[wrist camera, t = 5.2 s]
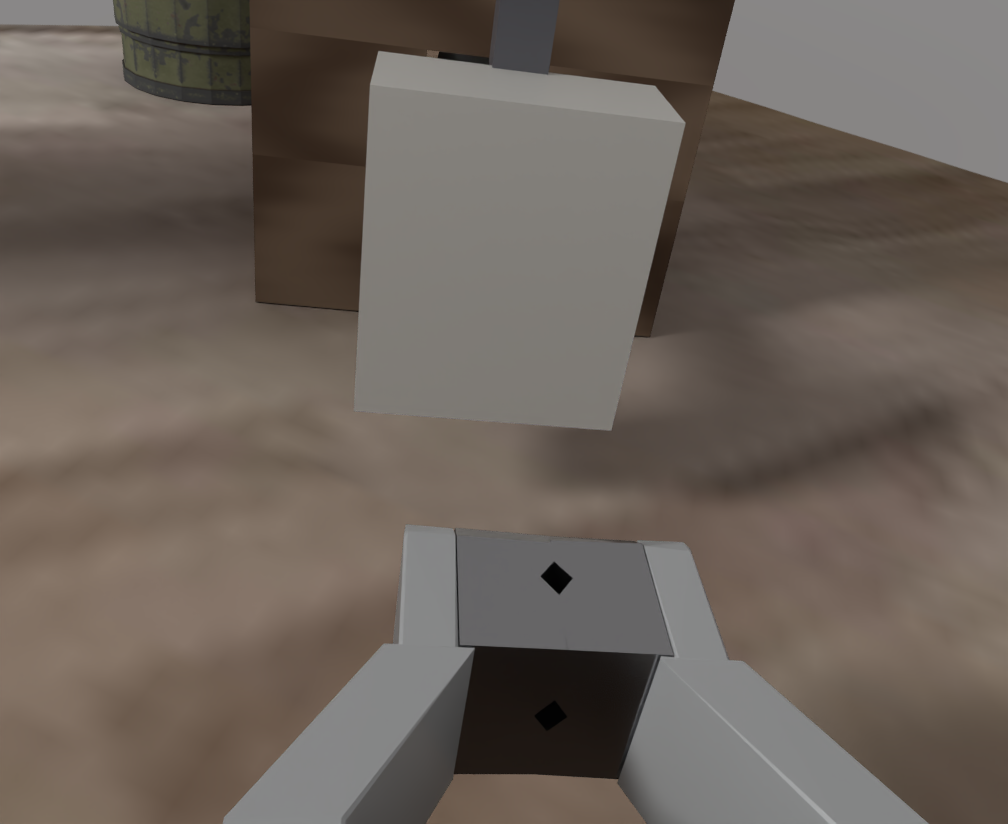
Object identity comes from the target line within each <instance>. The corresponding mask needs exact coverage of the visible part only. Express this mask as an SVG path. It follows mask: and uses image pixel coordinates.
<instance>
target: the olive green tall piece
mask: <svg viewBox="0 0 1008 824" xmlns="http://www.w3.org/2000/svg"><path fill="white" fill-rule="evenodd" d="M113 4H114V15H115V20H116V23H117V24H118V25H119V29H120V32H121V34H122V44H123V55H124V59H123V60H122V62H123V72H124V78H125V81H126V82H128V83H129V84H131V85H132V86H134V87H135V88H137V89H140V90H142V91H145V92H148V93H151V94H154V95H157V96H162V97H166V98H171V99H176V100H181V101H188V102H197V103H206V104H224V105H249V104H252V102H251V53H250V5H249V0H113Z"/></svg>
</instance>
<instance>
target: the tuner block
mask: <svg viewBox="0 0 1008 824" xmlns="http://www.w3.org/2000/svg"><path fill="white" fill-rule="evenodd" d="M734 2H735V0H560V1H559V8H558V14H557V21H556V27H555V34H554V40H553V47H552V53H551V60H550V66H549V73H557V74H565V75H573V76H581V77H589V78H597V79H605V80H613V81H621V82H629V83H637V84H645V85H653V86H656V88H657V89H658V90H659V91H660V93H661V94H662V95H663V96H664V97H665V99H666V100H667V101H668V102H669V103H670V105H671V106H672V107H673V108H674V110H675V111H676V112H677V113H678V114H679V116H680V117H681V118H682V119H683V120H684V122H685V128H684V132H683V136H682V140H681V144H680V148H679V152H678V157H677V161H676V165H675V169H674V173H673V177H672V181H671V186H670V190H669V194H668V198H667V202H666V206H665V210H664V215H663V219H662V223H661V227H660V231H659V235H658V239H657V244H656V248H655V252H654V256H653V260H652V264H651V268H650V273H649V277H648V281H647V285H646V289H645V293H644V297H643V302H642V306H641V310H640V314H639V318H638V322H637V326H636V331H635V335H634V336H645V337H650V334H651V331H652V327H653V323H654V319H655V315H656V311H657V307H658V303H659V299H660V295H661V291H662V287H663V283H664V279H665V275H666V271H667V267H668V263H669V259H670V255H671V251H672V247H673V243H674V239H675V235H676V231H677V228H678V224H679V220H680V216H681V212H682V208H683V204H684V200H685V196H686V192H687V188H688V184H689V180H690V176H691V172H692V168H693V164H694V160H695V156H696V152H697V148H698V144H699V140H700V136H701V132H702V128H703V125H704V121H705V117H706V113H707V109H708V105H709V101H710V97H711V93H712V89H713V85H714V81H715V77H716V73H717V69H718V65H719V61H720V57H721V53H722V49H723V45H724V41H725V37H726V33H727V29H728V25H729V21H730V18H731V14H732V10H733V6H734ZM495 4H496V0H249V5H250V53H251V102H252V150H253V199H254V247H255V295H256V302H265V303H276V304H288V305H299V306H310V307H321V308H332V309H344V310H355V311H359V296H360V275H361V255H362V235H363V215H364V195H365V175H366V154H367V134H368V114H369V94H370V83H371V79H372V75H373V71H374V67H375V63H376V59H377V55H378V51H383V52H391V53H399V54H407V55H415V56H422V57H426V55H427V50H432V51H440V52H448V53H456V54H464V55H472V56H480V57H487V58H489V55H490V47H491V38H492V30H493V21H494V13H495Z"/></svg>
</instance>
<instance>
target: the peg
mask: <svg viewBox="0 0 1008 824" xmlns="http://www.w3.org/2000/svg"><path fill="white" fill-rule="evenodd" d="M559 1H560V0H496V4H495V13H494V21H493V30H492V38H491V47H490V55H489V58H487V57H480V56H472V55H464V54H456V53H448V52H439V55H438V58H430V57H422V56H415V55H407V54H399V53H391V52H383V51H378V55H377V59H376V63H375V67H374V71H373V75H372V79H371V83H370V94H369V114H368V134H367V154H366V175H365V195H364V215H363V235H362V255H361V275H360V296H359V316H358V336H357V356H356V376H355V397H354V411H356V412H369V413H383V414H396V415H409V416H422V417H436V418H449V419H462V420H476V421H489V422H502V423H515V424H529V425H542V426H555V427H568V428H582V429H595V430H608V431H611V430H612V426H613V422H614V418H615V413H616V409H617V405H618V401H619V397H620V393H621V389H622V384H623V380H624V376H625V372H626V368H627V364H628V360H629V355H630V351H631V347H632V343H633V339H634V335H635V331H636V326H637V322H638V318H639V314H640V310H641V306H642V302H643V297H644V293H645V289H646V285H647V281H648V277H649V273H650V268H651V264H652V260H653V256H654V252H655V248H656V244H657V239H658V235H659V231H660V227H661V223H662V219H663V215H664V210H665V206H666V202H667V198H668V194H669V190H670V186H671V181H672V177H673V173H674V169H675V165H676V161H677V157H678V152H679V148H680V144H681V140H682V136H683V132H684V128H685V122H684V120H683V119H682V118H681V117H680V116H679V114H678V113H677V112H676V111H675V110H674V108H673V107H672V106H671V105H670V103H669V102H668V101H667V100H666V99H665V97H664V96H663V95H662V94H661V93H660V91H659V90H658V89H657V88H656V86H653V85H645V84H637V83H629V82H621V81H613V80H605V79H597V78H589V77H581V76H573V75H565V74H557V73H549V66H550V60H551V53H552V47H553V40H554V34H555V27H556V21H557V14H558V8H559Z"/></svg>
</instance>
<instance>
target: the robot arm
mask: <svg viewBox="0 0 1008 824" xmlns="http://www.w3.org/2000/svg"><path fill="white" fill-rule="evenodd" d="M454 774H538V775H556V776H573V777H590V778H607V779H619V780H618V785H619V786H620V788H621V789H622V790H623V792H624V793H625V794H626V796H627V797H628V798H629V800H630V801H631V803H632V804H633V805H634V807H635V808H636V809H637V811H638V812H639V813H640V815H641V816H642V818H643V819H644V820H645V822H646V823H647V824H929V823H927V822H926V821H925V820H924V819H923V818H922V817H921V816H919V815H918V814H917V813H916V812H915V811H914V810H913V809H911V808H910V807H909V806H908V805H907V804H906V803H905V802H903V801H902V800H901V799H900V798H899V797H898V796H897V795H895V794H894V793H893V792H892V791H891V790H890V789H889V788H888V787H886V786H885V785H884V784H883V783H882V782H881V781H880V780H878V779H877V778H876V777H875V776H874V775H873V774H872V773H870V772H869V771H868V770H867V769H866V768H865V767H864V766H862V765H861V764H860V763H859V762H858V761H857V760H856V759H854V758H853V757H852V756H851V755H850V754H849V753H848V752H846V751H845V750H844V749H843V748H842V747H841V746H840V745H839V744H837V743H836V742H835V741H834V740H833V739H832V738H831V737H829V736H828V735H827V734H826V733H825V732H824V731H823V730H821V729H820V728H819V727H818V726H817V725H816V724H815V723H813V722H812V721H811V720H810V719H809V718H808V717H807V716H805V715H804V714H803V713H802V712H801V711H800V710H799V709H797V708H796V707H795V706H794V705H793V704H792V703H791V702H790V701H788V700H787V699H786V698H785V697H784V696H783V695H782V694H780V693H779V692H778V691H777V690H776V689H775V688H774V687H772V686H771V685H770V684H769V683H768V682H767V681H766V680H764V679H763V678H762V677H761V676H760V675H759V674H758V673H756V672H755V671H754V670H753V669H752V668H751V667H750V666H749V665H747V664H746V663H745V662H744V661H735V660H729V657H728V655H727V652H726V649H725V646H724V643H723V640H722V638H721V635H720V632H719V629H718V626H717V623H716V621H715V618H714V615H713V612H712V609H711V606H710V604H709V601H708V598H707V595H706V592H705V590H704V587H703V584H702V581H701V578H700V575H699V573H698V570H697V567H696V564H695V561H694V558H693V556H692V553H691V550H690V548H689V547H688V546H687V545H686V544H685V543H684V542H665V541H643V540H638V541H637V542H635V541H626V540H609V539H592V538H575V537H557V536H543V535H532V534H520V533H509V532H498V531H486V530H475V529H463V528H455V530H454V531H453V529H452V528H443V527H431V526H419V525H408V524H406V527H405V531H404V538H403V548H402V557H401V567H400V577H399V586H398V596H397V605H396V616H395V626H394V637H393V644H383V645H382V646H381V647H380V648H379V649H378V651H377V652H376V653H375V654H374V655H373V656H372V657H371V658H370V659H369V660H368V661H367V662H366V664H365V665H364V666H363V667H362V668H361V669H360V670H359V671H358V672H357V673H356V674H355V676H354V677H353V678H352V679H351V680H350V681H349V682H348V683H347V684H346V685H345V686H344V688H343V689H342V690H341V691H340V692H339V693H338V694H337V695H336V696H335V697H334V698H333V700H332V701H331V702H330V703H329V704H328V705H327V706H326V707H325V708H324V709H323V710H322V712H321V713H320V714H319V715H318V716H317V717H316V718H315V719H314V720H313V721H312V722H311V723H310V725H309V726H308V727H307V728H306V729H305V730H304V731H303V732H302V733H301V734H300V735H299V737H298V738H297V739H296V740H295V741H294V742H293V743H292V744H291V745H290V746H289V747H288V749H287V750H286V751H285V752H284V753H283V754H282V755H281V756H280V757H279V758H278V759H277V761H276V762H275V763H274V764H273V765H272V766H271V767H270V768H269V769H268V770H267V771H266V772H265V774H264V775H263V776H262V777H261V778H260V779H259V780H258V781H257V782H256V783H255V784H254V786H253V787H252V788H251V789H250V790H249V791H248V792H247V793H246V794H245V795H244V796H243V798H242V799H241V800H240V801H239V802H238V803H237V804H236V805H235V806H234V807H233V808H232V810H231V811H230V812H229V813H228V814H227V815H226V816H225V817H224V821H223V824H426V822H427V820H428V819H429V817H430V816H431V814H432V812H433V811H434V809H435V807H436V806H437V804H438V803H439V801H440V799H441V798H442V796H443V794H444V793H445V791H446V790H447V788H448V786H449V785H450V783H451V781H452V780H453V775H454Z"/></svg>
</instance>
